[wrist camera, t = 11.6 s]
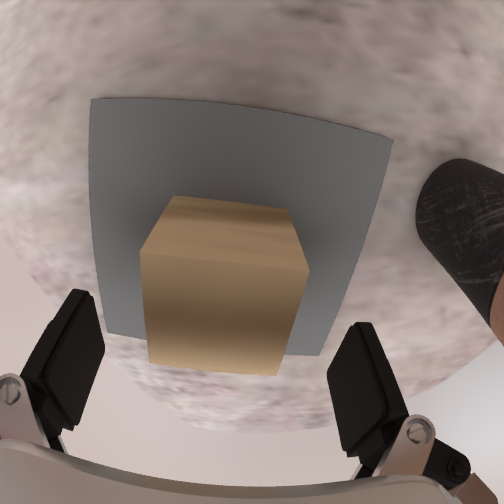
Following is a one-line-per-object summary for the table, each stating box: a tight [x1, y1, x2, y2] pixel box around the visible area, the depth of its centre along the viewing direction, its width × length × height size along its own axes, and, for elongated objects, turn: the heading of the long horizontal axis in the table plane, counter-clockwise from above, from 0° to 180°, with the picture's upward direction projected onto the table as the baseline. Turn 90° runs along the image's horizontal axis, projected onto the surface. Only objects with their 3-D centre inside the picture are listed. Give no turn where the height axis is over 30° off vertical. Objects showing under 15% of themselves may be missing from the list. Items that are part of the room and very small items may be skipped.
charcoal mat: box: [89, 98, 393, 356], centre depth 17 cm, size 16×16×1 cm
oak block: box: [140, 195, 310, 376], centre depth 14 cm, size 6×6×6 cm
